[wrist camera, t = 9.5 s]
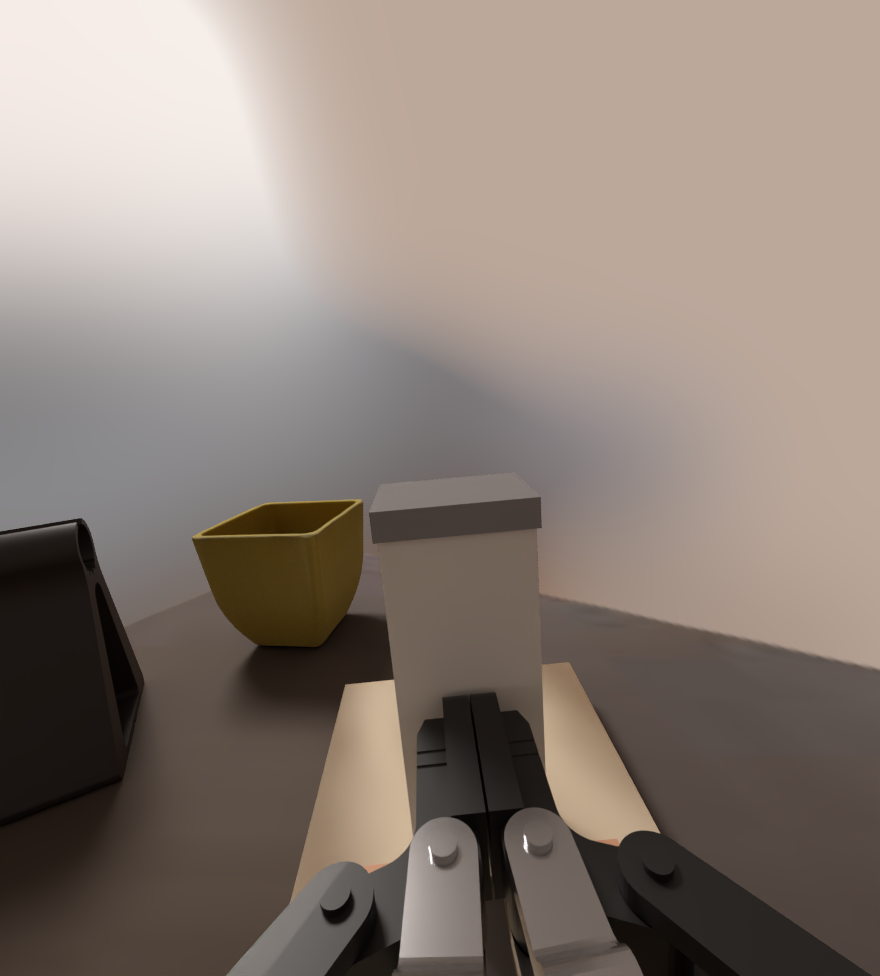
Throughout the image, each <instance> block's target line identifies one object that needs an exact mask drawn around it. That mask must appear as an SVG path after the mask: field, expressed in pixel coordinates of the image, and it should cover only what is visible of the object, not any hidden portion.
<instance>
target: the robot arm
mask: <svg viewBox="0 0 880 976" xmlns="http://www.w3.org/2000/svg"><path fill="white" fill-rule="evenodd" d="M442 702H443V716H444V718H435V719H426V720H424V722H423V724H422V726H421V728H420V730H419V732H418V734H417V780H416V829H415V833H414V836H413V838H412V841H411V843H410V844H409V846H408V847H407V849H406V850H405V851H404V852H403V853H402V854H401V855H400V856H399V857H398V858H397V859H395V860H394V861H393V862H391V863H389V864H387V865H385V866H383V867H381V868H379V869H377V870H375V871H373V872H371V873H368V872H367V870H366V869H365V868H364V867H362V866H361V865H359V864H357V863H354V862H349V861H343V862H337V863H334V864H331V865H329V866H327V867H325V868H324V869H322V870H321V871H320V872H318V873H317V874H316V875H315V876H314V877H313V878H312V879H311V880H310V882H309V883H308V884H307V885H306V886H305V887H304V888H303V889H302V891H301V892H300V893H299V894H298V895H297V896H296V897H295V898H294V900H293V901H292V902H291V903H290V904H289V905H288V906H287V907H286V909H285V910H284V911H283V912H282V913H281V914H280V915H279V917H278V918H277V919H276V920H275V921H274V922H273V923H272V924H271V926H270V927H269V928H268V929H267V930H266V931H265V932H264V933H263V935H262V936H261V937H260V938H259V939H258V940H257V941H256V942H255V944H254V945H253V946H252V947H251V948H250V949H249V950H248V952H247V953H246V954H245V955H244V956H243V957H242V958H241V959H240V961H239V962H238V963H237V964H236V965H235V966H234V967H233V968H232V970H231V971H230V972H229V973H228V974H227V975H226V976H487V960H486V942H487V934H488V931H487V917H486V904H485V901H489V900H492V889H491V876H490V867H491V874H492V880H493V887H494V894H495V900H496V899H505V898H506V904H507V910H508V916H509V922H510V938H511V946H512V950H513V955H514V959H515V964H516V968H517V973H518V976H871V975H870V974H868V973H867V972H865V971H864V970H862V969H861V968H860V967H858V966H857V965H855V964H854V963H852V962H851V961H849V960H848V959H846V958H845V957H843V956H842V955H840V954H839V953H838V952H836V951H835V950H833V949H832V948H830V947H829V946H827V945H826V944H824V943H823V942H821V941H820V940H818V939H817V938H816V937H814V936H813V935H811V934H810V933H808V932H807V931H805V930H804V929H802V928H801V927H799V926H798V925H796V924H795V923H794V922H792V921H791V920H789V919H788V918H786V917H785V916H783V915H782V914H780V913H779V912H777V911H776V910H774V909H773V908H772V907H770V906H769V905H767V904H766V903H764V902H763V901H761V900H760V899H758V898H757V897H755V896H754V895H752V894H751V893H750V892H748V891H747V890H745V889H744V888H742V887H741V886H739V885H738V884H736V883H735V882H733V881H732V880H730V879H729V878H728V877H726V876H725V875H723V874H722V873H720V872H719V871H717V870H716V869H714V868H713V867H711V866H710V865H708V864H707V863H706V862H704V861H703V860H701V859H700V858H698V857H697V856H695V855H694V854H692V853H691V852H689V851H688V850H686V849H685V848H684V847H682V846H681V845H679V844H678V843H676V842H675V841H673V840H672V839H670V838H668V837H667V836H664V835H662V834H660V833H657V832H653V831H647V830H640V831H635V832H632V833H630V834H628V835H627V836H625V837H624V838H623V840H622V841H621V843H620V845H619V846H614V845H610V844H605V843H601V842H596V841H593V840H590V839H587V838H585V837H583V836H581V835H579V834H578V833H576V832H575V831H573V830H572V829H571V828H570V827H569V826H568V825H567V824H566V823H565V822H564V821H563V819H562V818H561V816H560V814H559V813H558V810H557V808H556V805H555V802H554V799H553V795H552V792H551V789H550V786H549V783H548V780H547V777H546V774H545V771H544V768H543V764H542V761H541V758H540V756H539V752H538V749H537V746H536V743H535V740H534V737H533V733H532V730H531V727H530V724H529V722H528V721H527V720H526V719H525V718H524V717H523V716H522V715H521V714H520V713H519V712H518V710H512V711H503V712H500V708H499V704H498V700H497V696H496V693H495V692H489V693H479V694H470V706H469V699H468V695H460V696H450V697H442ZM470 708H471V713H470ZM489 860H490V863H489Z"/></svg>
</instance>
